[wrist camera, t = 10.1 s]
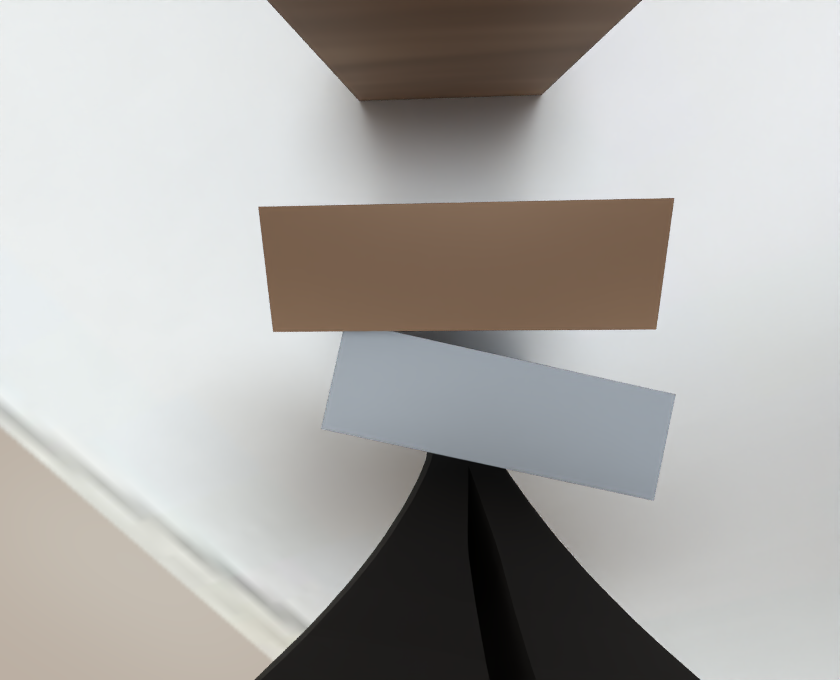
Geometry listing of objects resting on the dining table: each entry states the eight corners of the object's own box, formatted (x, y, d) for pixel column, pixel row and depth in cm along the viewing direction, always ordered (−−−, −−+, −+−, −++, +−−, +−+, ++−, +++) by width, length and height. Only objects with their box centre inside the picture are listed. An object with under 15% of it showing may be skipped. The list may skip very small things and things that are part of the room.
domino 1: (541, 94, 12) (718, -72, 4) (359, 100, 12) (224, -46, 5) (545, 25, 11) (754, -303, 4) (355, 33, 12) (195, -259, 4)
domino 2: (531, 260, 13) (655, 329, 6) (368, 263, 14) (272, 332, 6) (534, 206, 13) (673, 197, 5) (365, 209, 13) (257, 207, 5)
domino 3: (516, 416, 14) (653, 500, 6) (368, 383, 14) (321, 428, 6) (526, 369, 14) (675, 394, 6) (379, 336, 14) (345, 320, 6)
